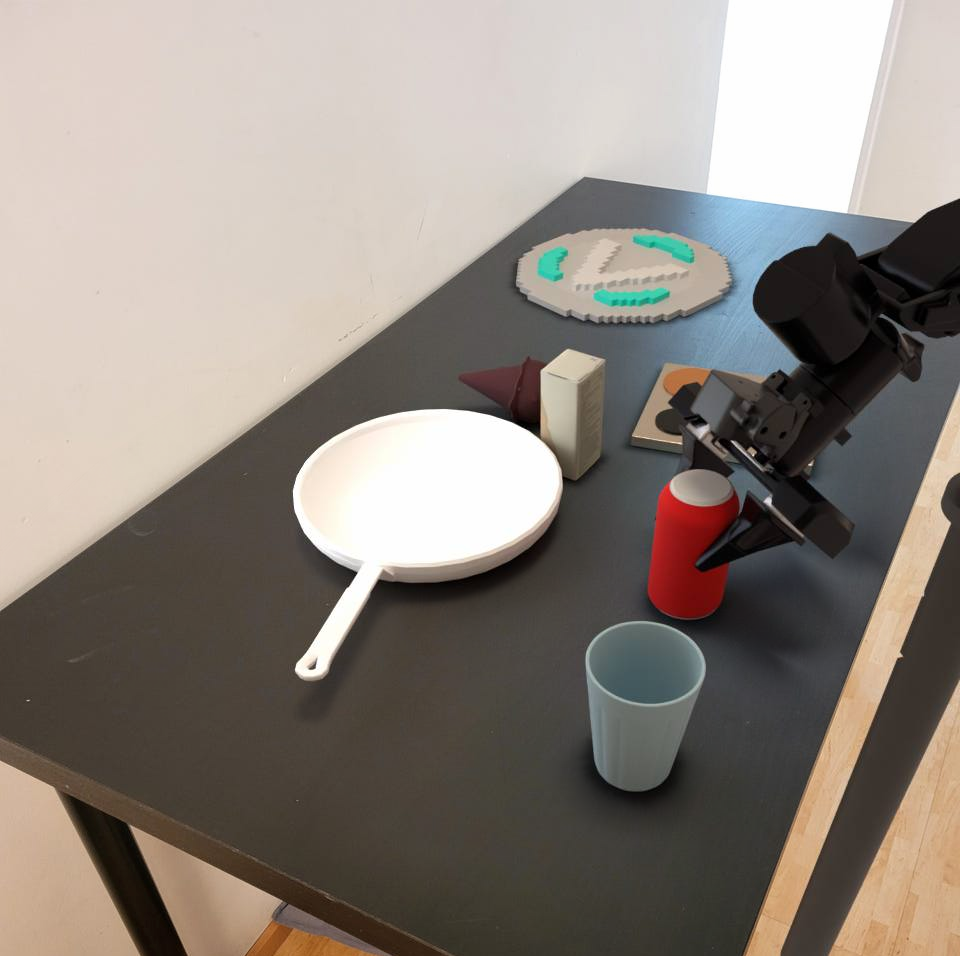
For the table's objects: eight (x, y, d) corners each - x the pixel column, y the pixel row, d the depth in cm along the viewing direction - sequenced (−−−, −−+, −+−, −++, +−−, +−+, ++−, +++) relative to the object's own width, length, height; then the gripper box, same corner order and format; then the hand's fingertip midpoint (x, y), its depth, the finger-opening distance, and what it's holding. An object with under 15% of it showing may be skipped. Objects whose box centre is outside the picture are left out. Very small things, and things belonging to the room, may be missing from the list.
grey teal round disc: (475, 275, 128) (475, 263, 126) (618, 218, 140) (618, 207, 139) (627, 345, 112) (628, 332, 111) (772, 274, 124) (774, 262, 123)
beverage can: (732, 619, 78) (757, 502, 69) (661, 632, 77) (677, 515, 68) (704, 573, 82) (724, 457, 74) (636, 585, 81) (649, 469, 73)
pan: (588, 460, 95) (590, 423, 92) (469, 750, 69) (466, 712, 66) (361, 427, 101) (356, 391, 98) (172, 682, 75) (157, 644, 72)
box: (566, 445, 97) (569, 345, 89) (602, 457, 95) (608, 357, 87) (538, 469, 94) (539, 369, 86) (574, 483, 92) (579, 381, 84)
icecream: (445, 376, 95) (588, 405, 93) (467, 327, 99) (605, 354, 96) (449, 424, 101) (583, 452, 99) (469, 376, 105) (600, 402, 102)
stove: (827, 395, 102) (829, 383, 101) (810, 475, 92) (813, 463, 91) (664, 371, 107) (665, 360, 106) (630, 445, 97) (631, 434, 96)
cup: (706, 752, 68) (727, 651, 61) (652, 823, 64) (667, 725, 56) (617, 706, 71) (626, 605, 64) (560, 771, 67) (563, 671, 60)
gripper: (704, 281, 70) (565, 440, 75) (859, 399, 58) (680, 580, 63) (775, 357, 78) (644, 497, 83) (926, 476, 65) (761, 633, 70)
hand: (677, 545), depth 74 cm, fingers closed on beverage can, 6 cm apart
